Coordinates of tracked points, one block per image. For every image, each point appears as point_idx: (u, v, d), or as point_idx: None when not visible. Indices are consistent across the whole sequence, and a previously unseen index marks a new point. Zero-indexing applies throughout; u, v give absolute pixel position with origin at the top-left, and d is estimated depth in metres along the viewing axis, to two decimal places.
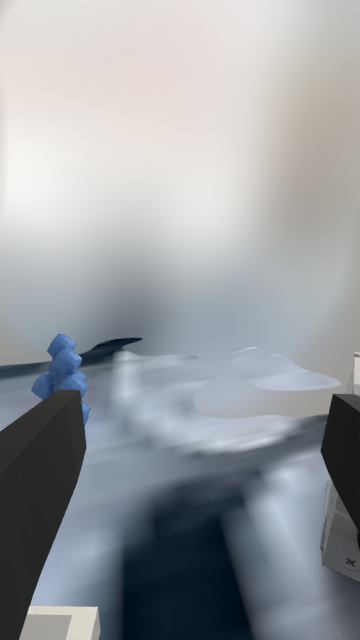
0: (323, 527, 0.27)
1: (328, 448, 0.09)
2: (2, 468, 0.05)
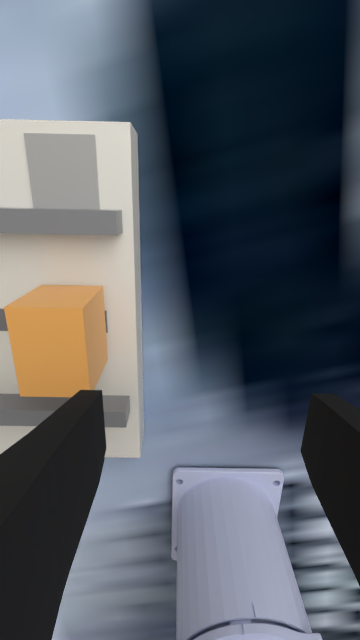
0: None
1: (307, 448, 0.09)
2: (37, 469, 0.05)
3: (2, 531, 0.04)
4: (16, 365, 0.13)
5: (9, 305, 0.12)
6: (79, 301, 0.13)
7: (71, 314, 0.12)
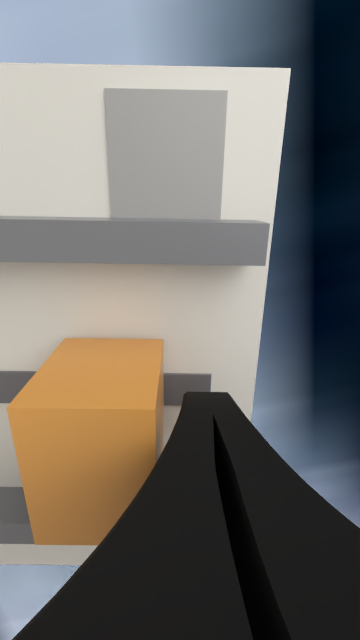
0: None
1: None
2: (210, 471, 0.05)
3: (225, 534, 0.04)
4: (29, 500, 0.07)
5: (16, 401, 0.07)
6: (140, 384, 0.07)
7: (134, 419, 0.07)
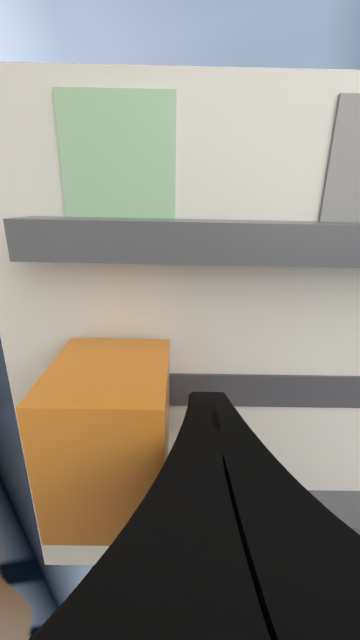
0: None
1: None
2: (219, 471, 0.05)
3: (236, 534, 0.04)
4: (37, 500, 0.07)
5: (25, 401, 0.07)
6: (148, 384, 0.07)
7: (143, 419, 0.07)
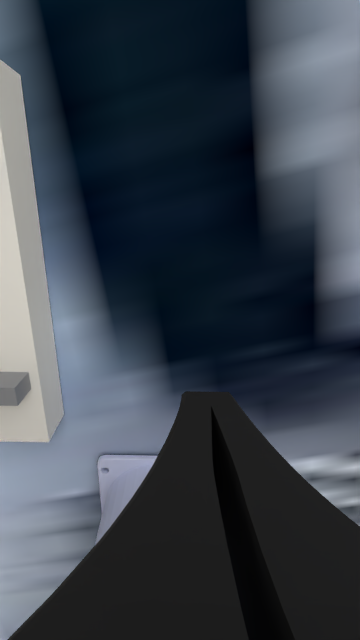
0: None
1: None
2: (208, 471, 0.05)
3: (222, 534, 0.04)
4: None
5: None
6: None
7: None
